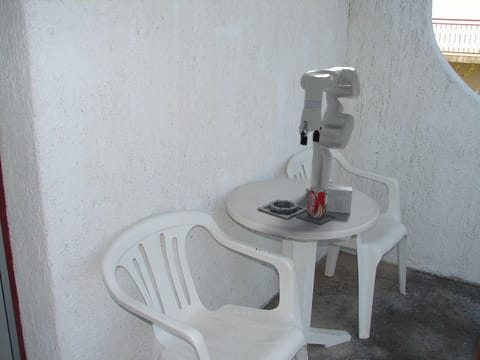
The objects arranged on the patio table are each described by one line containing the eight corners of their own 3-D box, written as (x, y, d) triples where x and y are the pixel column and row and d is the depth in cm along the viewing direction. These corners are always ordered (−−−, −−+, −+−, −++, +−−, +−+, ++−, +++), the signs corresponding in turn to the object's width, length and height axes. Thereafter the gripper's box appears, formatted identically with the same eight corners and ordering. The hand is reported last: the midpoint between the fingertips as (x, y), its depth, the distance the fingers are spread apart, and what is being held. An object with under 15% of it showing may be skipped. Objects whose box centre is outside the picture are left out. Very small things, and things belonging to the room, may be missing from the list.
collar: (279, 201, 213) (279, 196, 212) (308, 210, 203) (309, 204, 202) (257, 209, 202) (257, 204, 201) (287, 219, 192) (287, 214, 191)
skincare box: (349, 208, 207) (352, 186, 204) (350, 214, 201) (352, 191, 198) (326, 206, 209) (328, 184, 206) (325, 211, 203) (328, 188, 200)
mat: (311, 210, 203) (311, 209, 203) (335, 217, 196) (335, 216, 195) (296, 217, 194) (296, 215, 194) (320, 225, 187) (320, 223, 187)
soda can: (324, 220, 191) (326, 192, 187) (306, 218, 192) (309, 191, 189) (324, 214, 198) (326, 187, 194) (307, 212, 199) (309, 186, 195)
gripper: (316, 101, 206) (313, 139, 211) (294, 105, 194) (291, 144, 199) (331, 103, 202) (327, 142, 207) (309, 107, 189) (305, 147, 194)
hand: (309, 143), depth 203 cm, fingers open, 9 cm apart
